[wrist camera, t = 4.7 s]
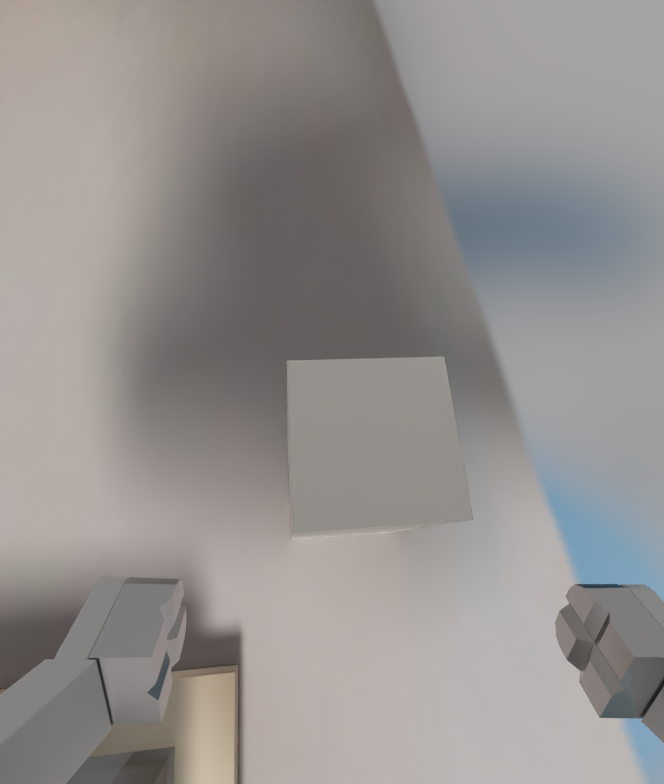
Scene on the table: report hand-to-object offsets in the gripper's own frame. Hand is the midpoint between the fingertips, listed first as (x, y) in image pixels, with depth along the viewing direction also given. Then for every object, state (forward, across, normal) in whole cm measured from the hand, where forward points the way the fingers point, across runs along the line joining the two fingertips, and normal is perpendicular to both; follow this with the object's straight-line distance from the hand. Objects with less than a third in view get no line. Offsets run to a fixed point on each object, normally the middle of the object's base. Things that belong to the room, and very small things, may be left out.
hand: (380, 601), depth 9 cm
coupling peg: (+8, 0, +3) cm, 9 cm away
